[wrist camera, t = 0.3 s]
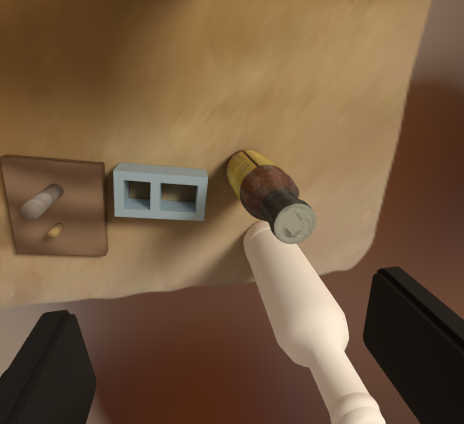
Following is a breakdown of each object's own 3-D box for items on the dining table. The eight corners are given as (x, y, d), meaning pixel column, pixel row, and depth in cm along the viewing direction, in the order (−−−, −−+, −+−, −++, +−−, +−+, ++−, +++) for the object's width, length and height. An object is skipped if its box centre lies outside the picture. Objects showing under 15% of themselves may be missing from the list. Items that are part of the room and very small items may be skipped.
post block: (6, 154, 38) (-39, 172, 31) (104, 162, 40) (85, 181, 33) (22, 248, 44) (-13, 283, 36) (108, 250, 46) (92, 284, 38)
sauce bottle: (230, 192, 45) (261, 266, 27) (220, 153, 42) (246, 207, 24) (271, 180, 45) (329, 246, 27) (263, 141, 42) (321, 184, 24)
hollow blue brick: (206, 169, 43) (208, 177, 39) (202, 209, 45) (203, 221, 42) (119, 162, 41) (113, 170, 37) (120, 205, 43) (114, 216, 40)
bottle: (279, 210, 47) (406, 383, 20) (294, 247, 51) (421, 439, 24) (234, 231, 48) (300, 429, 21) (252, 267, 51) (329, 477, 24)
